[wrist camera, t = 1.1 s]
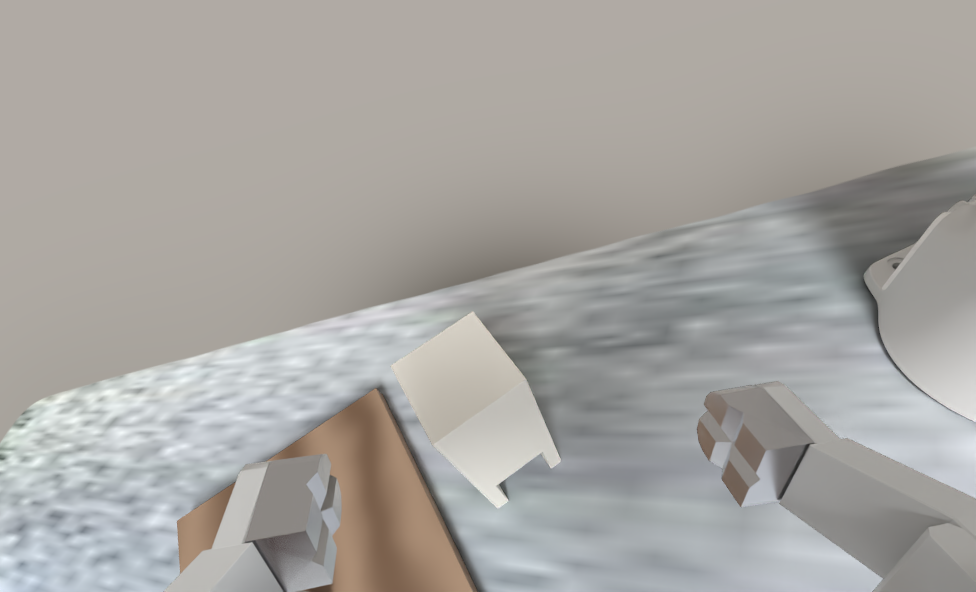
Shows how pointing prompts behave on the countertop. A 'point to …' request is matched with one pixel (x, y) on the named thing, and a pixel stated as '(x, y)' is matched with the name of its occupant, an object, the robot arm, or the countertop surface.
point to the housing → (475, 406)
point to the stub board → (363, 509)
